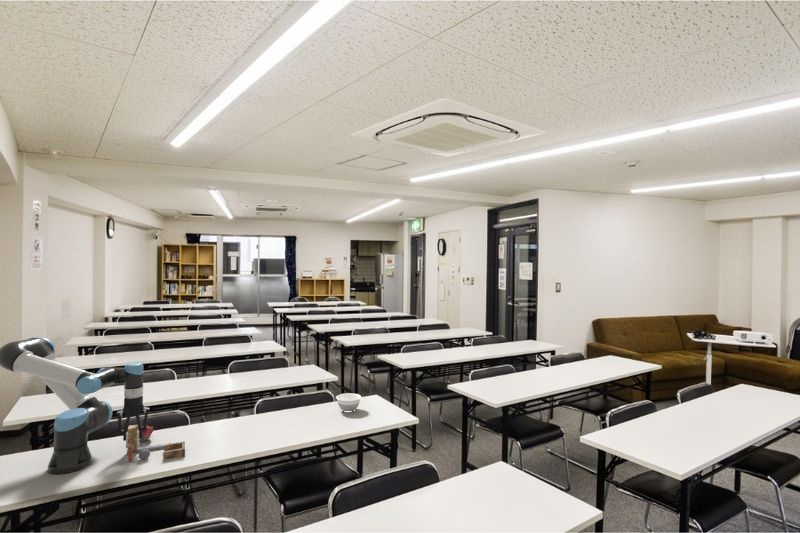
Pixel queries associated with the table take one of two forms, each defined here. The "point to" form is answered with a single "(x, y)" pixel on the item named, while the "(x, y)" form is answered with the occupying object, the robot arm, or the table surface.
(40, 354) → the robot arm
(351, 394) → the bowl
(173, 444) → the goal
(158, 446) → the rail
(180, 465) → the table surface
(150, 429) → the flower
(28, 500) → the table surface
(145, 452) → the ball
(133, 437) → the tan and red block
